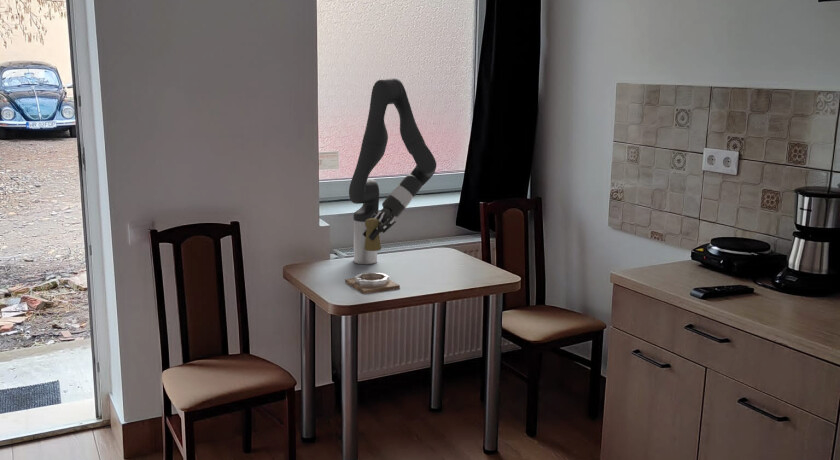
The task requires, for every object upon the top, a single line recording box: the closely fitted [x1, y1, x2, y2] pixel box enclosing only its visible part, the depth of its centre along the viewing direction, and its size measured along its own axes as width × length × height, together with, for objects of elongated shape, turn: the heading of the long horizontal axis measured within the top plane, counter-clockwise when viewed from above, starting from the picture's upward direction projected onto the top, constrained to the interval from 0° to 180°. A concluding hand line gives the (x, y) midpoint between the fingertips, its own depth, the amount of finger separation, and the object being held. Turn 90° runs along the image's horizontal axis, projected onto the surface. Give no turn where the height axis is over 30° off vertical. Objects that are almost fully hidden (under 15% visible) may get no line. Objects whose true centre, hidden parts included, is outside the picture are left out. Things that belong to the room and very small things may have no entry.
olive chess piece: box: [364, 218, 382, 252], centre depth 274 cm, size 6×6×11 cm
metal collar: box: [354, 271, 390, 287], centre depth 278 cm, size 11×11×2 cm
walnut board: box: [344, 277, 401, 295], centre depth 278 cm, size 16×14×1 cm
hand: (367, 237), depth 274 cm, fingers closed on olive chess piece, 4 cm apart
